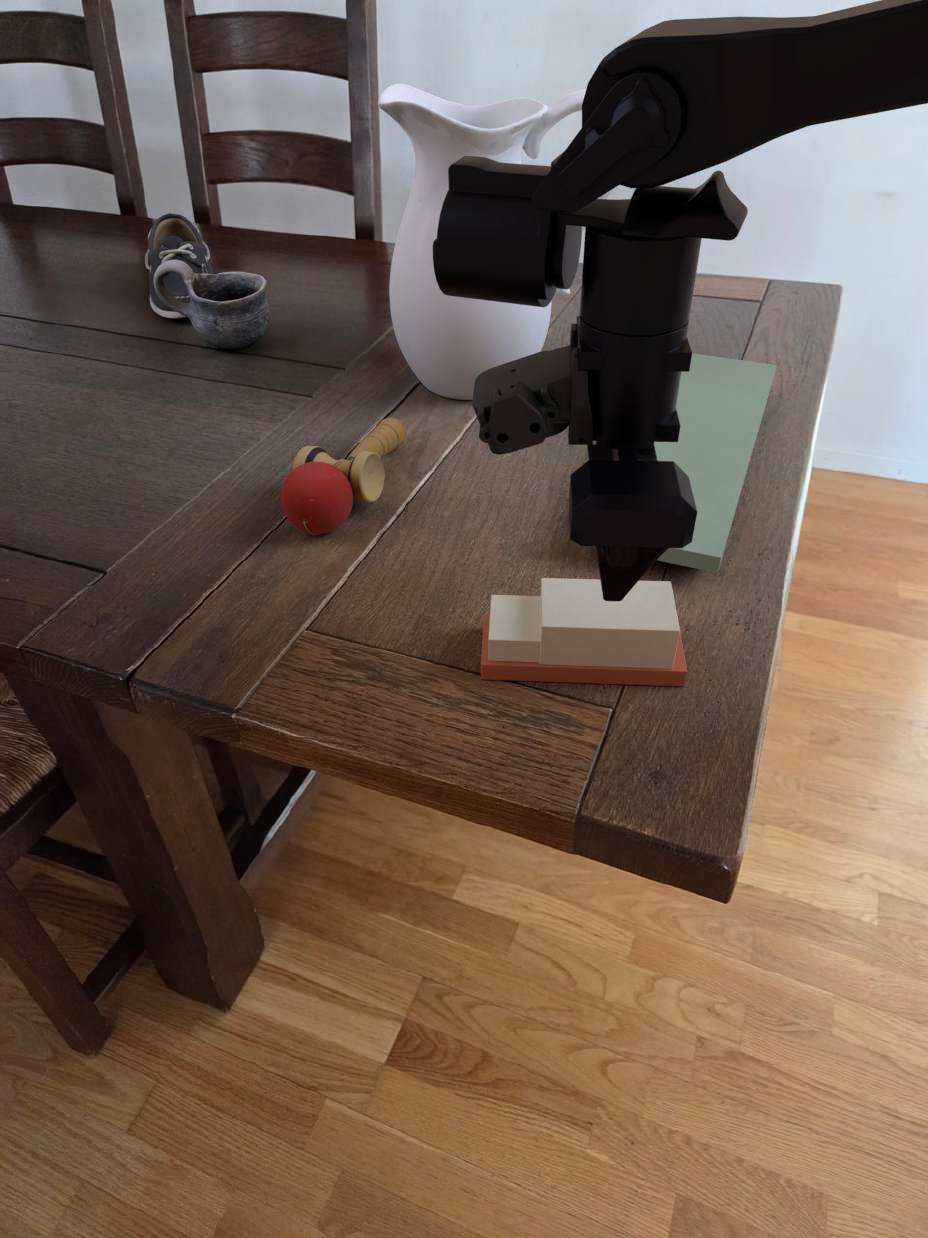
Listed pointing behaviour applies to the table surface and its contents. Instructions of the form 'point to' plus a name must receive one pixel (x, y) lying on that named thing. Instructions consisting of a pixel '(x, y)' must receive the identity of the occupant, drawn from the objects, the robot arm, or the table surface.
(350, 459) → the kendama
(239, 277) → the mug
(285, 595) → the table surface
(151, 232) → the boat shoe
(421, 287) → the pitcher
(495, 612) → the stepped block on base
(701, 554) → the flat pale green board
